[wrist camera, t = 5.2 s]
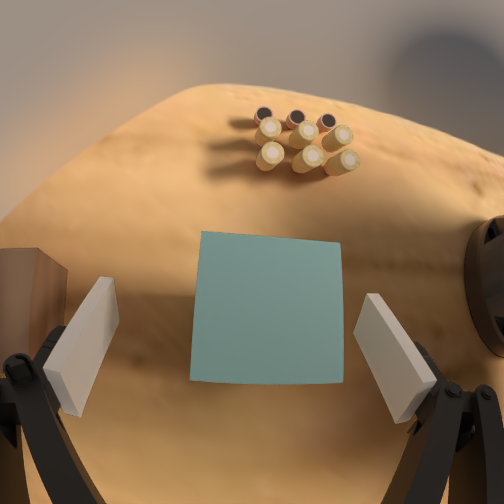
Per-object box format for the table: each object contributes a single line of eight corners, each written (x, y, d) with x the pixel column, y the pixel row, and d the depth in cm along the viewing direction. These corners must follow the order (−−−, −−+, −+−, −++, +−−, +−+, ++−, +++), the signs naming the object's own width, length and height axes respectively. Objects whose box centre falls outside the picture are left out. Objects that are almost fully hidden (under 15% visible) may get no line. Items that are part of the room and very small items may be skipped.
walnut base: (68, 270, 20) (37, 247, 16) (64, 377, 18) (29, 378, 13) (-4, 270, 19) (-38, 249, 15) (-10, 363, 17) (-49, 358, 12)
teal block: (280, 300, 21) (340, 242, 11) (278, 372, 20) (343, 382, 9) (207, 296, 21) (201, 231, 11) (203, 369, 19) (189, 380, 9)
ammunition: (363, 166, 21) (342, 93, 23) (262, 157, 20) (257, 83, 22) (341, 198, 25) (327, 127, 28) (253, 193, 24) (251, 121, 27)
